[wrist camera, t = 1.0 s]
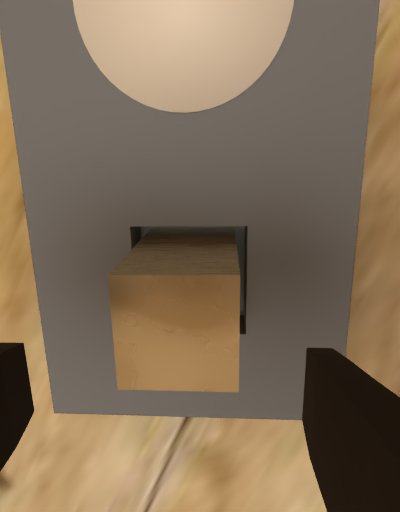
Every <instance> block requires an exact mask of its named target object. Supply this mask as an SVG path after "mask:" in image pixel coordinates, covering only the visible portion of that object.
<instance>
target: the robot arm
mask: <svg viewBox="0 0 400 512" xmlns="http://www.w3.org/2000/svg"><path fill="white" fill-rule="evenodd" d="M33 413H34V406H33V400H32V394H31V387H30V381H29V375H28V368H27V362H26V356H25V349H24V343H0V471H1V470H2V468H3V467H4V465H5V464H6V462H7V461H8V459H9V458H10V456H11V455H12V453H13V451H14V450H15V448H16V447H17V445H18V443H19V441H20V439H21V437H22V435H23V433H24V431H25V429H26V427H27V425H28V423H29V421H30V419H31V417H32V415H33ZM302 421H303V426H304V431H305V436H306V442H307V446H308V451H309V456H310V460H311V463H312V466H313V469H314V472H315V476H316V479H317V482H318V485H319V488H320V491H321V494H322V497H323V500H324V503H325V506H326V509H327V512H400V397H398V396H397V395H396V394H394V393H393V392H391V391H390V390H389V389H387V388H386V387H384V386H383V385H382V384H380V383H379V382H378V381H376V380H375V379H374V378H372V377H371V376H370V375H368V374H367V373H366V372H364V371H363V370H362V369H360V368H359V367H358V366H356V365H355V364H354V363H352V362H351V361H350V360H348V359H347V358H346V357H344V356H343V355H342V354H340V353H339V352H338V351H336V350H334V349H333V348H307V351H306V366H305V382H304V397H303V412H302Z"/></svg>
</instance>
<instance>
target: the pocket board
mask: <svg viewBox="0 0 400 512" xmlns="http://www.w3.org/2000/svg"><path fill="white" fill-rule="evenodd" d="M379 2H380V0H0V34H1V41H2V48H3V55H4V62H5V69H6V76H7V83H8V90H9V97H10V104H11V112H12V119H13V126H14V133H15V140H16V147H17V154H18V161H19V168H20V175H21V182H22V189H23V196H24V203H25V211H26V218H27V225H28V232H29V239H30V246H31V253H32V260H33V267H34V274H35V281H36V288H37V295H38V302H39V309H40V317H41V324H42V331H43V338H44V345H45V352H46V359H47V366H48V373H49V380H50V387H51V394H52V401H53V408H54V413H67V414H103V415H138V416H174V417H209V418H245V419H280V420H302V412H303V397H304V382H305V366H306V351H307V348H333V349H334V350H336V351H338V352H339V353H340V354H342V355H343V356H344V357H345V354H346V344H347V334H348V323H349V313H350V302H351V292H352V282H353V271H354V261H355V251H356V240H357V230H358V220H359V209H360V199H361V189H362V178H363V168H364V157H365V147H366V137H367V126H368V116H369V106H370V95H371V85H372V75H373V64H374V54H375V44H376V33H377V23H378V13H379ZM186 228H234V229H235V237H236V245H237V253H238V261H239V269H240V339H239V392H200V391H158V390H118V389H117V378H116V366H115V355H114V343H113V332H112V320H111V309H110V297H109V285H108V274H109V273H110V272H111V271H112V270H113V269H114V267H115V266H116V265H117V264H118V263H119V262H120V261H121V260H122V259H123V258H124V257H125V256H126V255H127V254H128V253H129V251H130V250H131V249H132V248H133V247H134V246H135V245H136V244H137V243H138V242H139V241H140V240H141V239H142V238H143V237H144V235H145V234H146V233H147V232H148V231H149V230H150V229H186Z"/></svg>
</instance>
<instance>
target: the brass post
mask: <svg viewBox="0 0 400 512" xmlns="http://www.w3.org/2000/svg"><path fill="white" fill-rule="evenodd" d="M108 285H109V297H110V309H111V320H112V332H113V343H114V355H115V366H116V378H117V389H118V390H158V391H200V392H239V339H240V269H239V261H238V253H237V245H236V237H235V229H234V228H186V229H150V230H149V231H148V232H147V233H146V234H145V235H144V237H143V238H142V239H141V240H140V241H139V242H138V243H137V244H136V245H135V246H134V247H133V248H132V249H131V250H130V251H129V253H128V254H127V255H126V256H125V257H124V258H123V259H122V260H121V261H120V262H119V263H118V264H117V265H116V266H115V267H114V269H113V270H112V271H111V272H110V273H109V274H108Z"/></svg>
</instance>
